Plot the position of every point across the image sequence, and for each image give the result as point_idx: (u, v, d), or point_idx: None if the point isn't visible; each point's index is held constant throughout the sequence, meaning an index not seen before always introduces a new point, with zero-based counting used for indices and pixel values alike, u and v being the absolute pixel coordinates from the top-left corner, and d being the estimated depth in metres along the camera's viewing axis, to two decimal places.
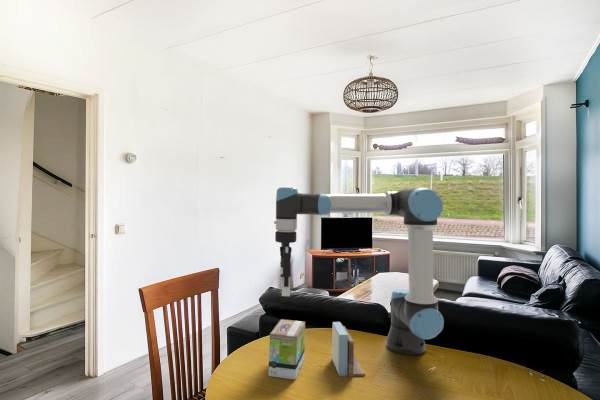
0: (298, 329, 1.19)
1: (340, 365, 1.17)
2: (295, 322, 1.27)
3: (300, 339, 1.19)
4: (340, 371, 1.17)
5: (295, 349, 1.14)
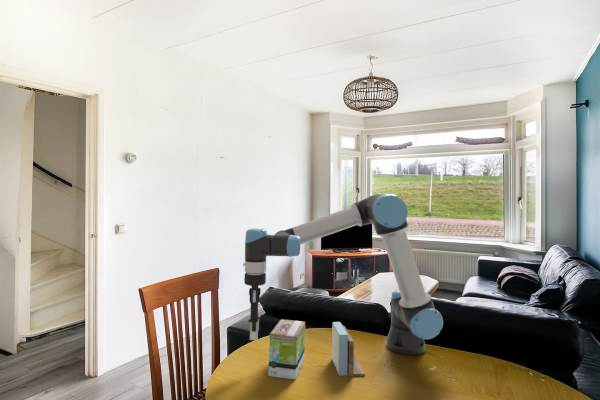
0: (298, 329, 1.19)
1: (340, 365, 1.17)
2: (295, 322, 1.26)
3: (300, 339, 1.19)
4: (340, 371, 1.17)
5: (295, 349, 1.13)
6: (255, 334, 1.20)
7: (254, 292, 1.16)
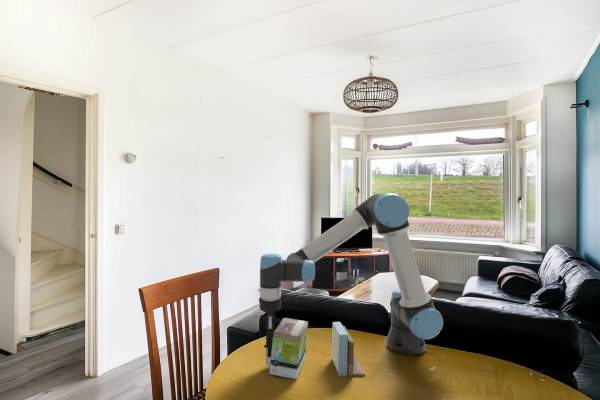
0: (301, 329, 1.19)
1: (340, 365, 1.17)
2: (299, 321, 1.26)
3: (303, 339, 1.19)
4: (340, 371, 1.17)
5: (298, 349, 1.13)
6: None
7: (270, 318, 1.17)
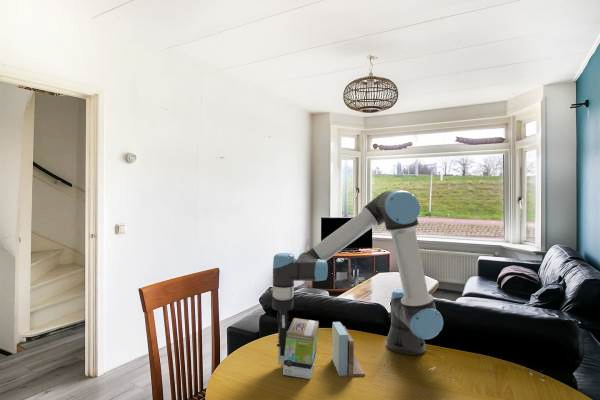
0: (313, 329, 1.19)
1: (340, 365, 1.17)
2: (309, 321, 1.27)
3: (315, 339, 1.19)
4: (340, 371, 1.17)
5: (311, 349, 1.14)
6: (283, 358, 1.21)
7: (283, 317, 1.18)
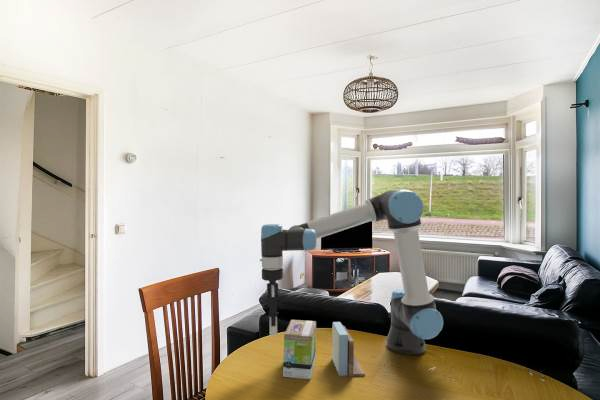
0: (311, 329, 1.19)
1: (340, 365, 1.17)
2: (307, 322, 1.27)
3: (313, 339, 1.19)
4: (340, 371, 1.17)
5: (310, 349, 1.14)
6: (275, 329, 1.21)
7: (272, 287, 1.17)
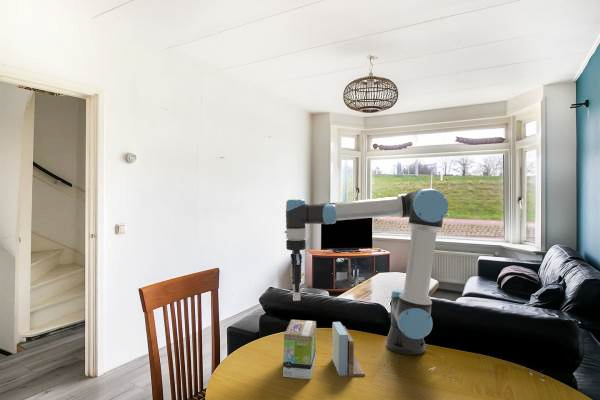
0: (311, 329, 1.19)
1: (340, 365, 1.17)
2: (307, 322, 1.27)
3: (313, 339, 1.19)
4: (340, 371, 1.17)
5: (310, 349, 1.14)
6: (298, 295, 1.31)
7: (297, 256, 1.28)
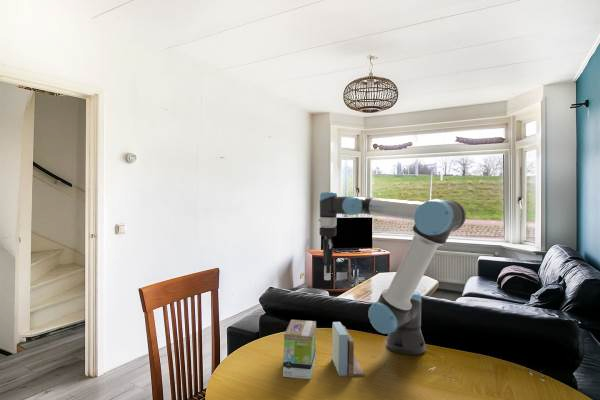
0: (311, 329, 1.19)
1: (340, 365, 1.17)
2: (307, 322, 1.27)
3: (313, 339, 1.19)
4: (340, 371, 1.17)
5: (310, 349, 1.14)
6: (329, 275, 1.51)
7: (329, 241, 1.47)
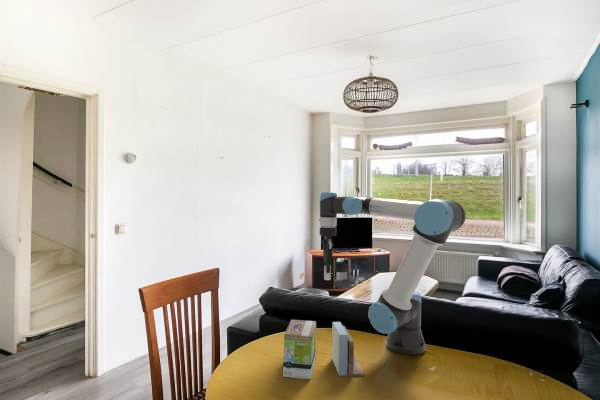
0: (311, 329, 1.19)
1: (340, 365, 1.17)
2: (307, 322, 1.27)
3: (313, 339, 1.19)
4: (340, 371, 1.17)
5: (310, 349, 1.14)
6: (329, 275, 1.51)
7: (329, 241, 1.47)
